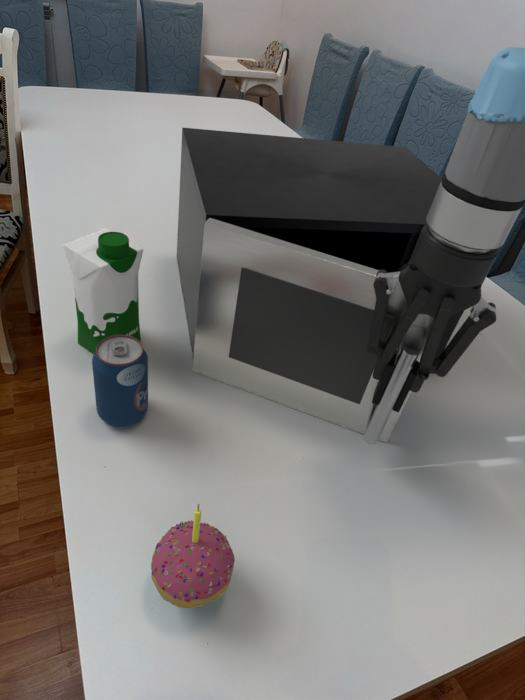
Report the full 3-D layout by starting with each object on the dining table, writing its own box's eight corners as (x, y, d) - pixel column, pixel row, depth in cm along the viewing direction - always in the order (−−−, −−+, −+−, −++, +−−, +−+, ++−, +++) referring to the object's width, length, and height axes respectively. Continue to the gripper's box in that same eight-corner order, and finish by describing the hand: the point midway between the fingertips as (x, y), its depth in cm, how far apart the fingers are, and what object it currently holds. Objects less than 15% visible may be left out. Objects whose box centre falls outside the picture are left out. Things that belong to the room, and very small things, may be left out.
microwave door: (379, 474, 69) (454, 329, 52) (174, 395, 74) (182, 241, 57) (388, 435, 74) (457, 294, 58) (196, 365, 80) (209, 217, 63)
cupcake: (153, 545, 56) (154, 484, 49) (227, 543, 58) (240, 484, 50) (148, 626, 50) (148, 571, 42) (232, 621, 51) (247, 567, 44)
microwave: (439, 365, 89) (507, 235, 73) (195, 374, 78) (208, 223, 61) (368, 261, 115) (406, 147, 98) (176, 256, 104) (182, 127, 87)
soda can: (150, 428, 69) (151, 365, 61) (98, 434, 67) (91, 370, 59) (145, 392, 74) (144, 329, 66) (96, 397, 72) (89, 333, 64)
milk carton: (107, 370, 76) (99, 256, 63) (68, 343, 79) (53, 229, 66) (149, 344, 82) (149, 235, 69) (111, 319, 85) (104, 211, 72)
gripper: (538, 241, 50) (446, 401, 65) (391, 199, 52) (336, 363, 67) (545, 276, 44) (443, 442, 59) (380, 227, 46) (323, 399, 62)
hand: (386, 400), depth 63 cm, fingers closed on microwave door, 2 cm apart
